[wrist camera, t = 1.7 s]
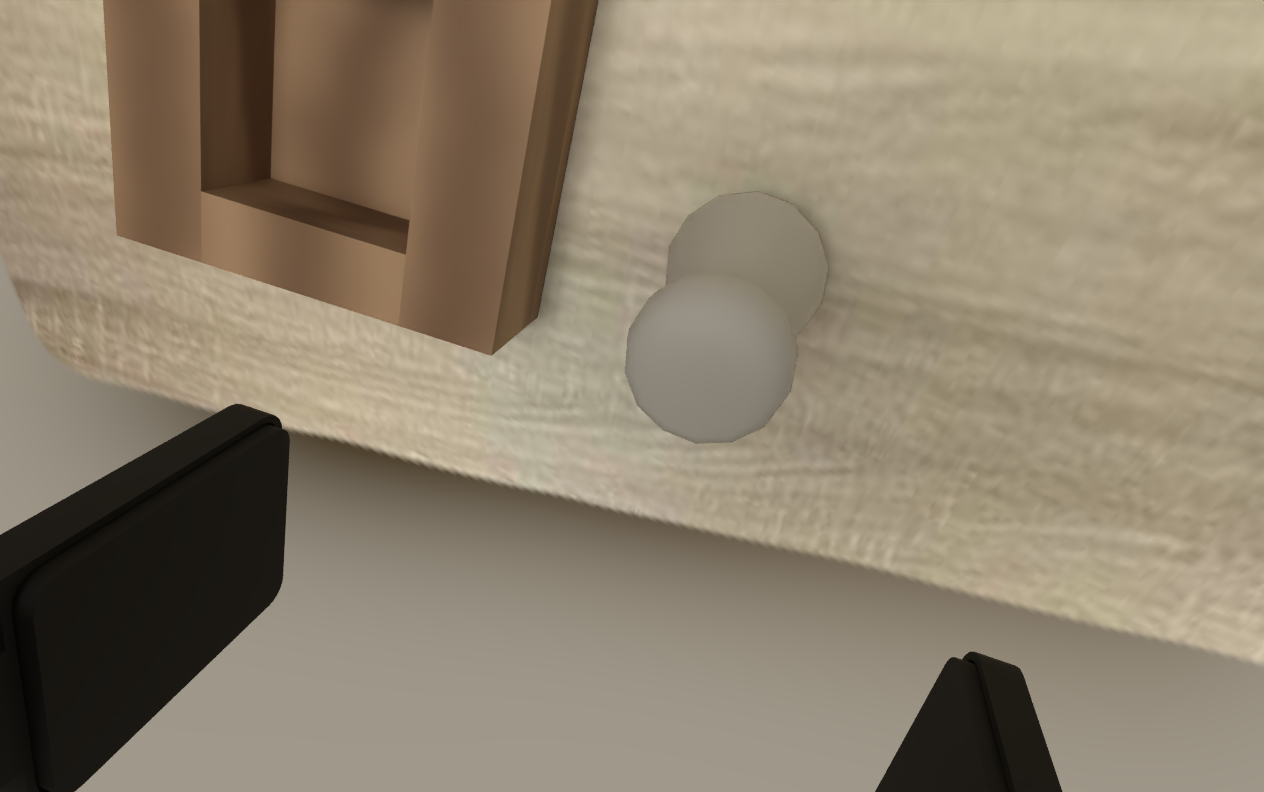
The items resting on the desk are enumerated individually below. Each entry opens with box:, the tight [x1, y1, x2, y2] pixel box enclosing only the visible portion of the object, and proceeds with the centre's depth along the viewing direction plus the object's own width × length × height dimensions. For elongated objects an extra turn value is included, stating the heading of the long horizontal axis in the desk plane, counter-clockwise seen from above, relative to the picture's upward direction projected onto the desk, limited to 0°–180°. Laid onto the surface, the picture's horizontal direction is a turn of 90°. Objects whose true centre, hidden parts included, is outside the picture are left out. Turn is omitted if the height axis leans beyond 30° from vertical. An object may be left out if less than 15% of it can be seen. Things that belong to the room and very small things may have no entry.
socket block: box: [103, 0, 598, 356], centre depth 29 cm, size 16×14×5 cm
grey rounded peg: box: [625, 192, 829, 443], centre depth 24 cm, size 6×6×13 cm
